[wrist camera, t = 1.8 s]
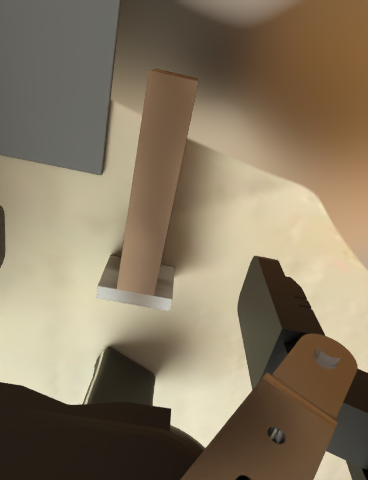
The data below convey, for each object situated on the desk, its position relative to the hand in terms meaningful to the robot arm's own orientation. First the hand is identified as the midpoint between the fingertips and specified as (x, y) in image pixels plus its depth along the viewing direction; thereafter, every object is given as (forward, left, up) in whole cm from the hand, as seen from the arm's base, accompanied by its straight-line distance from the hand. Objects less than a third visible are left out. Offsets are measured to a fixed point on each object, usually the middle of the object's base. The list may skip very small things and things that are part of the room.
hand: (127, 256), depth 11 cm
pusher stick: (0, -3, -18) cm, 18 cm away
